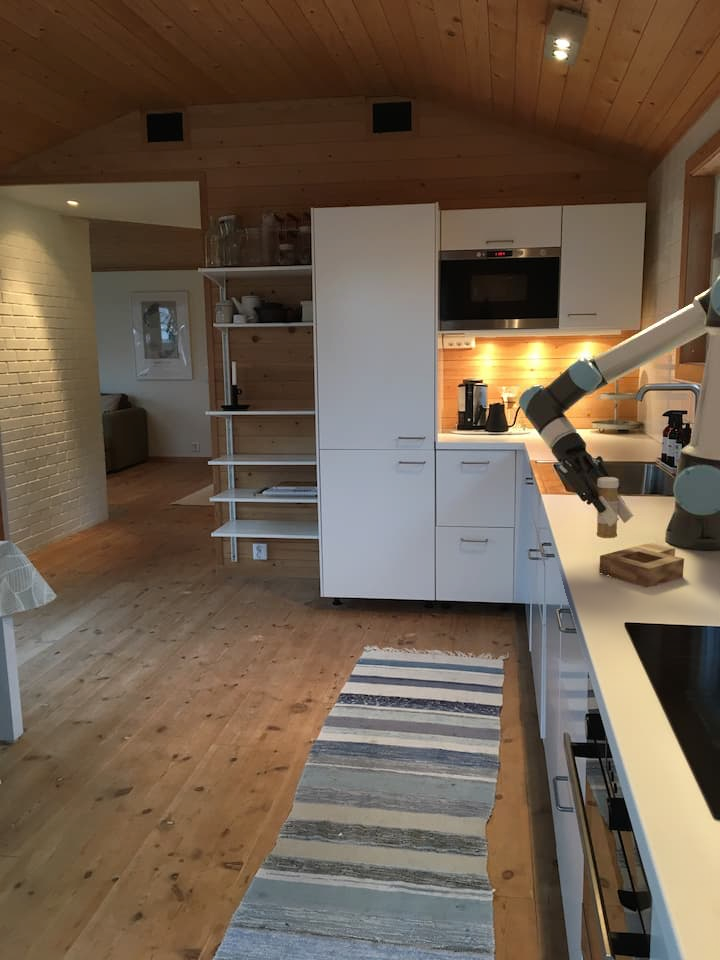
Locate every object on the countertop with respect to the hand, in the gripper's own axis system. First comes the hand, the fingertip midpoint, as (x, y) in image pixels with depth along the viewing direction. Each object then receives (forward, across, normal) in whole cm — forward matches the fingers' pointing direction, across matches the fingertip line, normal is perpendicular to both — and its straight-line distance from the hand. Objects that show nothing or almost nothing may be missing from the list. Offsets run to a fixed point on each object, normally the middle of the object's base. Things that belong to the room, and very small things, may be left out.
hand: (621, 520), depth 170 cm
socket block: (+13, +4, -1) cm, 13 cm away
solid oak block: (+11, -5, -3) cm, 12 cm away
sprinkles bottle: (0, 0, -6) cm, 6 cm away
